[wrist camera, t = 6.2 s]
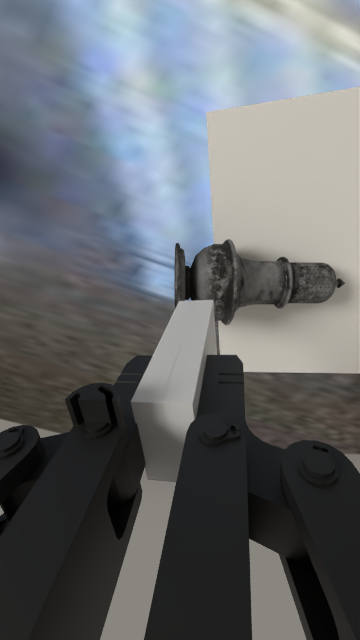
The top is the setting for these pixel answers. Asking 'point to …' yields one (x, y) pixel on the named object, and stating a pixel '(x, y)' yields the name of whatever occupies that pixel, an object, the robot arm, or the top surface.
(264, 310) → the board
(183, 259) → the salt shaker
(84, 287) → the top surface
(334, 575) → the robot arm
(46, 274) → the top surface
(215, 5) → the top surface
